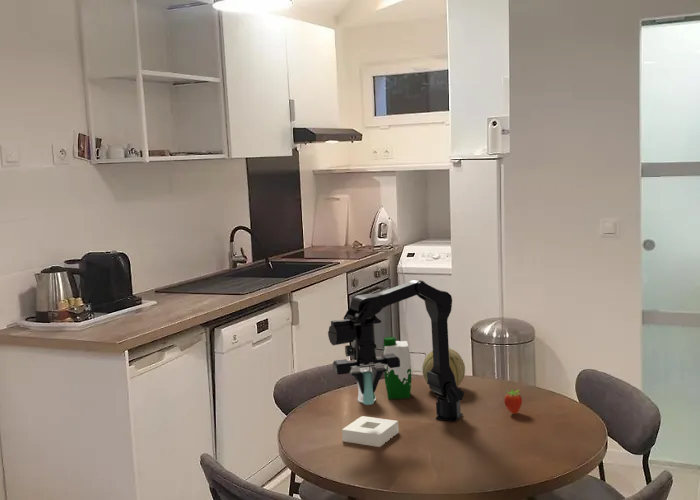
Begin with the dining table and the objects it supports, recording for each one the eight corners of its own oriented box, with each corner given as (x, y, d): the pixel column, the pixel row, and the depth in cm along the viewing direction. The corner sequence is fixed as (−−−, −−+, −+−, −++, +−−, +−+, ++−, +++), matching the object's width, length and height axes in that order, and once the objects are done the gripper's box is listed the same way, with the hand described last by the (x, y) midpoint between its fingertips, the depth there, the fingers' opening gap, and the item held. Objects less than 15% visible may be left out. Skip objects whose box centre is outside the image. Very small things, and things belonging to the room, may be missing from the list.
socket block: (398, 432, 217) (398, 420, 217) (379, 447, 207) (379, 434, 206) (362, 427, 223) (362, 416, 223) (342, 441, 213) (341, 429, 212)
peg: (375, 402, 215) (373, 371, 214) (370, 405, 212) (368, 374, 211) (366, 400, 216) (364, 370, 215) (361, 404, 213) (359, 373, 212)
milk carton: (385, 392, 256) (382, 335, 253) (411, 391, 255) (408, 334, 253) (385, 400, 247) (382, 341, 245) (413, 399, 247) (410, 340, 244)
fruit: (517, 417, 224) (517, 391, 223) (502, 415, 227) (501, 389, 226) (525, 412, 228) (524, 387, 227) (509, 409, 231) (508, 384, 230)
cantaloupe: (443, 380, 265) (441, 339, 263) (475, 389, 254) (473, 346, 252) (413, 390, 256) (411, 348, 254) (445, 399, 244) (443, 355, 243)
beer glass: (375, 403, 244) (372, 359, 242) (354, 403, 246) (352, 359, 244) (378, 397, 251) (376, 353, 249) (358, 396, 252) (356, 353, 251)
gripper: (387, 330, 222) (390, 381, 224) (326, 337, 217) (330, 389, 219) (399, 338, 211) (402, 391, 213) (335, 346, 207) (339, 400, 208)
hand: (368, 392), depth 214 cm, fingers closed on peg, 3 cm apart
